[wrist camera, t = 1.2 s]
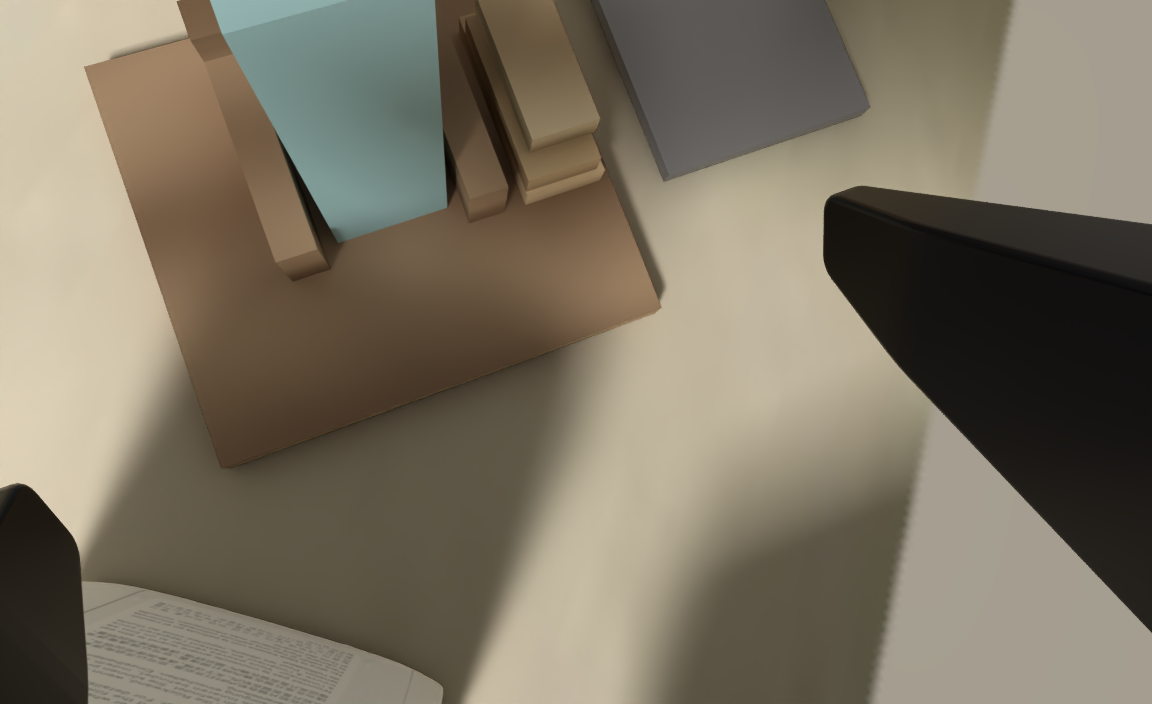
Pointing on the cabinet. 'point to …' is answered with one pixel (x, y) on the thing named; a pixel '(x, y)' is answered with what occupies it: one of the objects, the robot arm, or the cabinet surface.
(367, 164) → the teal rectangular block
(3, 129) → the cabinet surface
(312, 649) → the photo printer
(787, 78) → the mat
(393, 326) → the rack
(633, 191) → the cabinet surface
